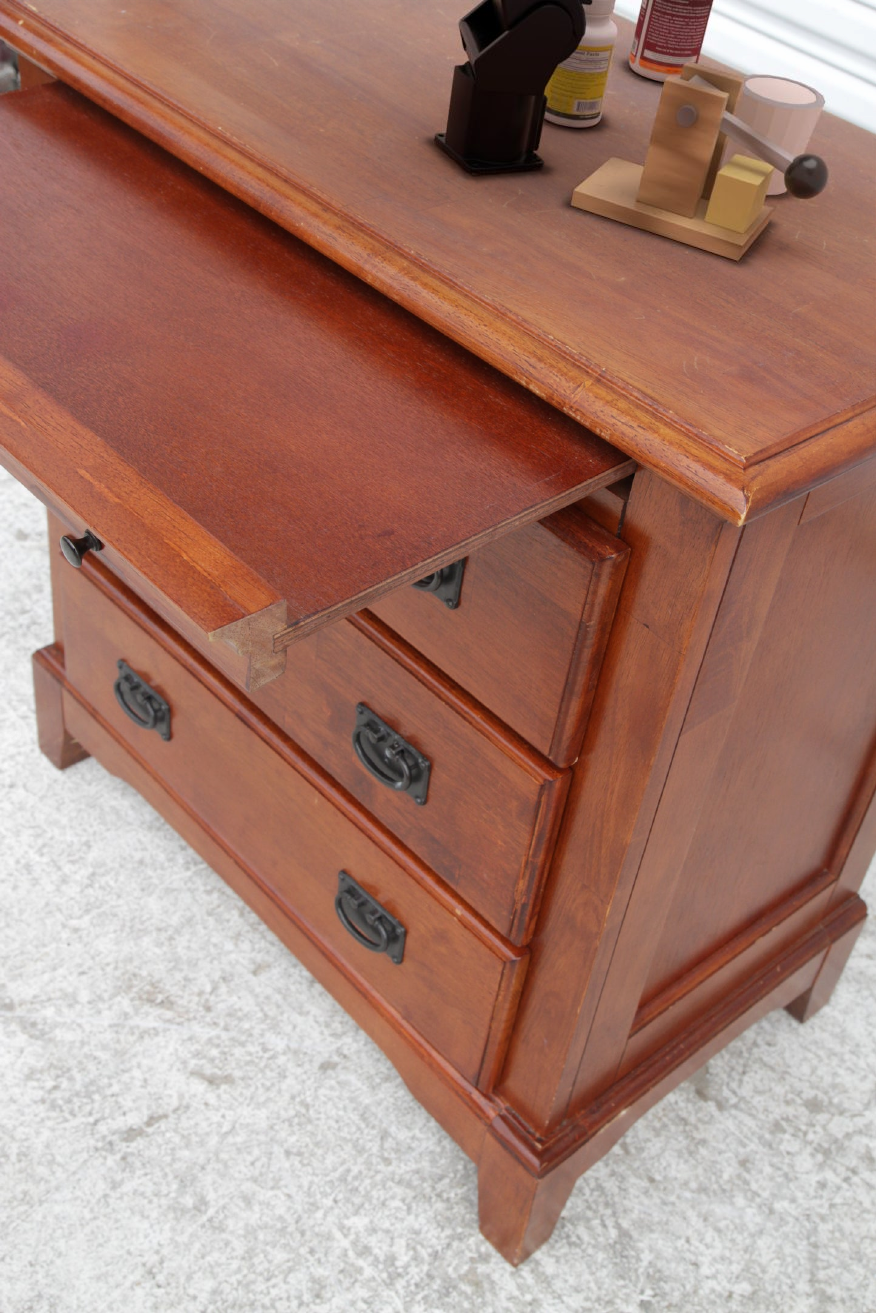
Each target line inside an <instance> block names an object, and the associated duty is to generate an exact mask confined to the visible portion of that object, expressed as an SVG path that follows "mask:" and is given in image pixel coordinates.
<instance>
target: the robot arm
mask: <svg viewBox="0 0 876 1313" xmlns="http://www.w3.org/2000/svg"><path fill="white" fill-rule="evenodd" d="M582 4H585V5H591V4H592V0H482V1H480V2H479V3H478V4H477V5H476V6H475V7H474V8H472V9H471V10H470V11H468V13H466V14H465V15H464V16H463V17H462V18H460V19H459V21H458V29H459V34H460V39H461V44H462V49H463V51H464V52H465V54H466V56H467V58H468V59H467V61H465V62H464V63H463V64H456V65H454V67H453V77H452V83H451V89H450V90H451V91H450V98H449V105H448V113H447V121H446V128H445V132H436V133H435V134H434V137H433V138H434V142H435V143H436V144H437V145H438V146H439V147H440V148H441V149H443V150H444V151H445V153H447V154H448V155H449V156H451V158H452V159H454V160H455V161H456V162H457V163H458V164H459V165H461V167H463V169H465V170H466V171H467V172H468V173H470V174H473V175H479V174H490V173H492V174H493V173H502V172H513V171H514V172H515V171H525V170H526V171H527V170H536V169H537V170H538V169H542V168H544V165H545V164H544V163H545V160H544V159H543V158H542V157H540V156H539V155H538V154H537V153H536V152H537V151H538V150H539V148H540V145H541V139H542V134H543V128H544V122H545V112H546V107H547V101H548V98H547V96H546V95H545V94H544V93H545V88H546V86H547V84H548V82H549V80H550V79H551V77H552V75H553V73H554V71H555V69H556V68H557V66H558V65H559V64H560V63H562V62H563V61H565V60H567V59H568V58H569V57H570V56H571V55H572V54H573V53H574V51H575V50H576V49H577V48H578V46H579V44H580V42H581V40H582V38H583V36H584V35H585V31H586V18H585V11H584V8H583V5H582Z"/></svg>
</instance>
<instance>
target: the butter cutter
mask: <svg viewBox="0 0 876 1313" xmlns="http://www.w3.org/2000/svg"><path fill="white" fill-rule="evenodd" d="M695 75H698V76H699V77H701V78H702V79H704V80H705V81H707V82H708V83H710V84H711V85H713V86H714V87H716V88H717V89H719V90H720V91H719V90H715V89H712V88H709V87H705V86H702V85H699V84H695V83H692V82H689V80H690V79H692V78H693V77H694V76H695ZM745 81H746V78H743V77H742V76H739V75H737V74H732V73H729V72H726V71H723V70H719V69H716V68H712V67H709V66H706V65H703V64H699V63H698V64H696V63H693V62H689V61H687V62H686V63H685V64H684V65H683V68H682V72H681V76H680V79H679V78H675V77H672V76H669V77H667V78H666V79H665V81H664V82H663V86H662V90H661V94H660V98H659V102H658V106H657V111H656V115H655V119H654V123H653V127H652V132H651V135H650V141H649V142H648V143H649V144H648V147H647V152H646V156H645V160H644V165H640V164H637V163H634V162H632V161H628V160H625V159H622V158H618V157H614V156H611V157H610V158H609V159H608V160H607V161H606V162H604V163H603V164H602V165H601V166H599V167H598V169H596V170H595V171H594V172H592V174H590V175H589V176H587V178H585V180H583V181H582V182H581V183H579V184H578V186H576V187H575V188H574V189H573V191H572V192H573V193H572V197H571V201H570V206H572V207H575V208H577V209H581V210H583V211H587V212H590V213H593V214H595V215H598V216H602V217H605V218H607V219H611V220H614V221H617V222H620V223H623V224H626V225H629V226H632V227H635V228H637V229H640V230H643V231H647V232H650V233H652V234H657V235H658V236H662V237H665V238H668V239H670V240H673V241H676V242H680V243H683V244H686V245H688V246H692V247H695V248H698V249H699V250H700V249H701V250H704V251H707V252H708V253H709V252H710V253H713V254H716V255H719V256H722V257H724V258H728V259H731V260H734V261H736V262H738V261H739V260H740V259H741V258H742V257H743V255H744V254H745V253H746V252H747V250H748V249H749V247H751V245H752V244H753V243H754V242H755V240H756V239H757V238H758V236H760V234H761V233H762V232H763V230H764V229H765V228H766V227H767V225H768V224H769V222H770V219H771V216H772V212H773V210H774V207H772V206H769V205H766V204H765V205H764V204H763V206H762V210H761V213H760V214H759V215H758V217H757V218H756V219H755V220H754V222H753V223H752V224H751V225H750V226H749V228H748V229H747V230H746V231H745V232H744V234H742V233H739V232H736V231H733V230H730V229H727V228H724V227H720V226H717V225H714V224H711V223H708V222H705V221H704V220H705V216H706V212H707V209H708V205H709V202H710V198H711V195H712V191H713V188H714V184H715V180H716V177H717V173H718V172H719V171H720V169H721V166H722V162H723V159H724V155H725V151H726V148H727V144H728V141H729V137H728V136H727V135H725V134H724V133H722V132H721V131H719V130H720V126H721V123H722V119H723V115H724V112H725V110H726V111H727V112H729V113H730V114H732V115H733V116H736V112H737V109H738V105H739V102H740V98H741V95H742V91H743V88H744V84H745ZM728 97H729V98H728Z"/></svg>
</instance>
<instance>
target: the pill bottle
mask: <svg viewBox="0 0 876 1313" xmlns="http://www.w3.org/2000/svg"><path fill="white" fill-rule="evenodd" d="M713 4H714V0H641V3H640V8H639V12H638V16H637V17H638V18H637V22H636V26H635V30H634V34H633V41H632V44H631V50H630V54H629V58H628V59H629V61H628V63H629V67H630V69H631V70H632V71H634V72H635V73H636V74H638V75H640V76H642V77H644V78H647V79H650V80H653V81H658V82H662V83H664V81H665V79H666V78H667V77H669V76H672V77H675V78H679V79H680V76H681V72H682V68H683V65H684V64H685V63H686V62H687V61H689V62H693V63H696V64H699V60H700V56H701V52H702V48H703V43H704V40H705V35H706V32H707V28H708V24H709V19H710V16H711V11H712V8H713Z"/></svg>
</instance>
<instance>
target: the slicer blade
mask: <svg viewBox="0 0 876 1313" xmlns="http://www.w3.org/2000/svg"><path fill="white" fill-rule="evenodd" d="M689 82H692V83H695V84H699V85H702V86H705V87H709V88H712V89H715V90H719V89H717V88H716V87H714V86H713V85H711V84H710V83H708V82H707V81H705V80H704V79H702V78H701V77H699V76H698V75H695V76H694V77H693V78H692V79H690V80H689ZM719 91H720V90H719ZM728 98H729V97H728ZM719 131H721V132H722V133H724V134H725V135H727V136H728V137H730V138H731V139H733V140H734V141H736V142H737V143H739V144H740V145H742V146H743V147H745V148H746V149H748V150H749V151H751V152H752V153H754V154H755V155H757V156H758V157H760V158H761V159H763V160H764V161H766V162H767V163H769V164H770V165H772V166H773V167H775V168H776V169H778V170H779V171H781V172H782V173H784V184H785V187H786V189H787V191H786V192H788V193H789V194H790V195H791V196H792V197H794V198H796V199H799V200H810V199H813V198H816V197H817V196H818V195H820V194H821V193H822V192H823V191H824V189H826V186H827V184H828V181H829V177H830V172H829V167H828V164H827V162H826V161H825V159H823V158H822V157H821V156H820V155H818V154H816V153H812V152H811V153H810V152H809V153H806V152H805V153H804V154H801V155H799V156H797V157H795V156H793V155H792V154H790V153H789V152H787V151H786V150H784V149H783V148H781V147H780V146H778V145H777V144H775V143H774V142H772V141H771V140H769V139H768V138H766V137H765V136H763V135H762V134H760V133H759V132H757V131H756V130H754V129H753V128H751V127H750V126H748V125H747V124H745V123H744V122H742V121H741V120H739V119H738V118H736V117H735V116H733V115H732V114H730V113H729V112H727V111H726V110H725V112H724V115H723V119H722V123H721V126H720V130H719Z"/></svg>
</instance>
